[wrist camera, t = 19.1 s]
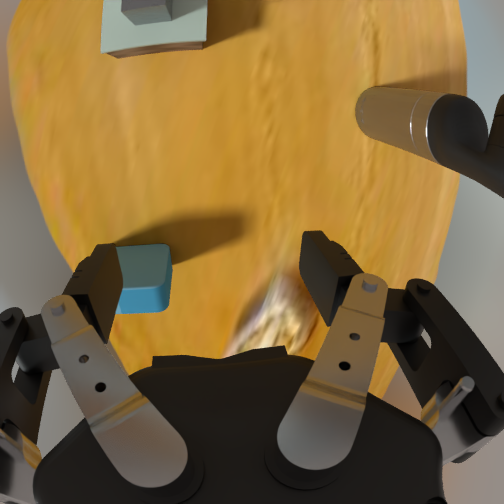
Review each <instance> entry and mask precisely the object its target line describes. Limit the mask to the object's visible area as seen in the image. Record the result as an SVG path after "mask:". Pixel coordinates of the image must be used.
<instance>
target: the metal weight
mask: <svg viewBox="0 0 504 504" xmlns="http://www.w3.org/2000/svg"><path fill="white" fill-rule="evenodd" d="M172 5H173V0H122V3H121V12H122V13H123V14H124V15H125V16H126V17H127V18H128V19H129V20H130V21H131V22H132V23H133V24H134V25H135V26H137V25H144V24H151V23H159V22H167V21H172Z"/></svg>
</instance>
